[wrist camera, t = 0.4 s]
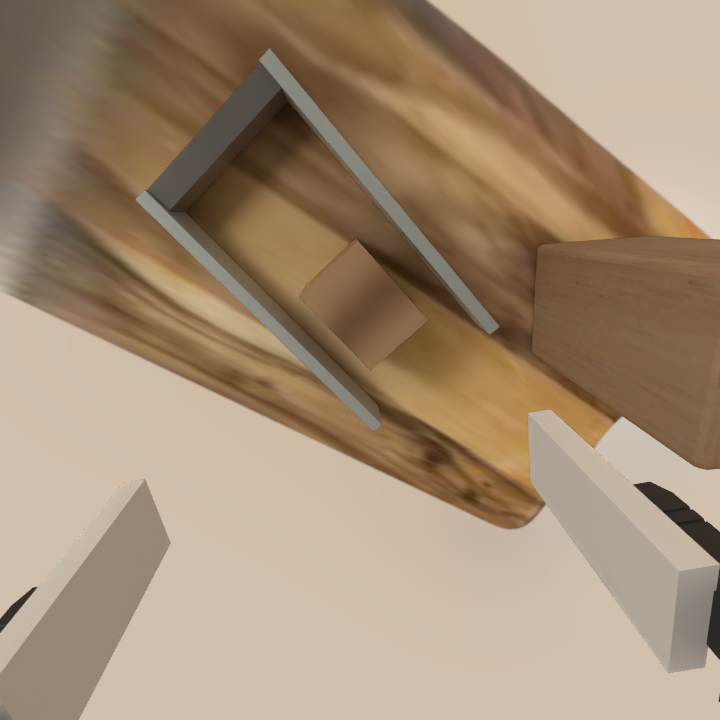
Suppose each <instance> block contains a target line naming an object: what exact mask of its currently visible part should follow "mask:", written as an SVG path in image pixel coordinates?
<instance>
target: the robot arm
mask: <svg viewBox="0 0 720 720" xmlns="http://www.w3.org/2000/svg"><path fill="white" fill-rule="evenodd" d="M528 432H529V456H530V481H531V483H532V485H533V486H534V487H535V489H536V490H537V492H538V493H539V494H540V496H541V497H542V499H543V500H544V501H545V503H546V504H547V505H548V507H549V508H550V509H551V511H552V512H553V514H554V515H555V517H556V518H557V519H558V521H559V522H560V523H561V525H562V526H563V528H564V529H565V530H566V532H567V533H568V534H569V536H570V537H571V539H572V540H573V542H574V543H575V544H576V546H577V547H578V549H579V550H580V551H581V553H582V554H583V555H584V557H585V558H586V560H587V561H588V562H589V564H590V565H591V567H592V568H593V569H594V571H595V572H596V574H597V575H598V576H599V577H600V579H601V580H602V582H603V583H604V585H605V586H606V587H607V589H608V590H609V592H610V593H611V594H612V596H613V597H614V598H615V600H616V601H617V603H618V604H619V605H620V607H621V608H622V610H623V611H624V612H625V614H626V615H627V617H628V618H629V619H630V621H631V622H632V624H633V625H634V626H635V628H636V629H637V631H638V632H639V633H640V635H641V636H642V637H643V639H644V640H645V642H646V643H647V644H648V646H649V647H650V649H651V650H652V651H653V653H654V654H655V656H656V657H657V658H658V660H659V661H660V662H661V664H662V665H663V666H664V668H665V669H666V671H667V672H668V673H673V672H679V671H685V670H690V669H697V668H703V667H705V664H706V657H707V650H708V647H709V648H710V649H711V650H712V651H713V652H714V654H715V655H716V656H717V657H718V658H719V659H720V532H719V531H718V530H717V529H716V528H714V527H713V526H712V525H711V524H710V523H708V522H705V521H704V519H703V518H702V517H701V516H700V515H699V514H698V513H696V512H695V511H694V510H691V509H690V508H689V506H688V505H687V504H686V503H684V502H683V501H682V500H681V499H679V498H678V497H677V496H676V495H675V494H673V493H672V492H670V491H668V490H666V489H664V488H662V487H660V486H658V485H656V484H654V483H651V482H646V483H640V484H634V485H633V484H632V483H630V482H629V481H628V480H627V479H626V478H625V477H624V476H623V475H622V474H621V473H619V472H618V471H617V470H616V469H615V468H614V467H613V466H612V465H611V464H610V463H609V462H607V461H606V460H605V459H604V458H603V457H602V456H601V455H600V454H599V453H598V452H597V451H595V450H594V449H593V448H592V447H591V446H590V445H589V444H588V443H587V442H586V441H584V440H583V439H582V438H581V437H580V436H579V435H578V434H577V433H576V432H575V431H574V430H572V429H571V428H570V427H569V426H568V425H567V424H566V423H565V422H564V421H563V420H561V419H560V418H559V417H558V416H557V415H556V414H555V413H554V412H553V411H552V410H551V409H549V410H544V411H538V412H532V413H528ZM169 545H170V540H169V538H168V536H167V533H166V530H165V528H164V525H163V523H162V520H161V518H160V515H159V513H158V510H157V508H156V505H155V503H154V500H153V498H152V495H151V493H150V490H149V488H148V485H147V483H146V480H145V479H144V480H137V481H131V482H125V483H123V484H122V485H121V486H120V487H119V489H118V490H117V491H116V492H115V493H114V495H113V496H112V497H111V498H110V499H109V501H108V502H107V503H106V504H105V506H104V507H103V508H102V509H101V510H100V512H99V513H98V514H97V515H96V517H95V518H94V519H93V520H92V522H91V523H90V524H89V525H88V526H87V528H86V529H85V530H84V531H83V533H82V534H81V535H80V536H79V537H78V539H77V540H76V541H75V542H74V544H73V545H72V546H71V547H70V548H69V550H68V551H67V552H66V554H64V556H63V557H62V558H61V559H60V561H59V562H58V563H57V564H56V565H55V567H54V568H53V569H52V570H51V572H50V573H49V574H48V575H47V576H46V578H45V579H44V580H43V581H42V583H41V584H40V585H39V586H38V587H34V588H32V589H31V590H30V591H28V592H27V593H26V594H25V595H24V596H22V597H21V598H20V599H19V600H18V601H17V602H15V603H14V604H13V605H12V606H11V607H10V608H9V609H8V610H7V612H6V613H5V614H4V615H3V616H2V617H1V619H0V720H79V718H80V716H81V714H82V712H83V710H84V708H85V707H86V705H87V702H88V701H89V699H90V697H91V695H92V693H93V691H94V689H95V687H96V685H97V683H98V681H99V679H100V678H101V676H102V674H103V672H104V670H105V668H106V666H107V664H108V662H109V660H110V659H111V657H112V654H113V653H114V651H115V649H116V647H117V645H118V643H119V641H120V639H121V637H122V635H123V634H124V632H125V630H126V628H127V626H128V624H129V622H130V620H131V618H132V616H133V614H134V612H135V610H136V609H137V606H138V605H139V603H140V601H141V599H142V597H143V595H144V593H145V591H146V589H147V587H148V585H149V584H150V582H151V580H152V578H153V576H154V574H155V572H156V570H157V568H158V566H159V564H160V563H161V561H162V559H163V557H164V555H165V553H166V551H167V549H168V547H169ZM719 702H720V697H719Z"/></svg>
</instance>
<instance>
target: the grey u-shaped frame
mask: <svg viewBox="0 0 720 720" xmlns="http://www.w3.org/2000/svg"><path fill="white" fill-rule="evenodd" d="M259 61H260V64H259V65H258V66H257V67H256V68H255V69H254V70H253V72H252V73H251V74H250V75H249V76H248V77H247V78H246V79H245V81H244V82H243V83H242V84H241V85H240V86H239V87H238V89H237V90H236V91H235V92H234V93H233V94H232V95H231V96H230V98H229V99H228V100H227V101H226V102H225V103H224V104H223V105H222V107H221V108H220V109H219V110H218V111H217V112H216V113H215V114H214V116H213V117H212V118H211V119H210V120H209V121H208V122H207V123H206V125H205V126H204V127H203V128H202V129H201V130H200V131H199V133H198V134H197V135H196V136H195V137H194V138H193V139H192V140H191V142H190V143H189V144H188V145H187V146H186V147H185V148H184V149H183V151H182V152H181V153H180V154H179V155H178V156H177V157H176V158H175V160H174V161H173V162H172V163H171V164H170V165H169V166H168V168H167V169H166V170H165V171H164V172H163V173H162V174H161V175H160V177H159V178H158V179H157V180H156V181H155V182H154V183H153V184H152V186H151V187H150V188H149V189H148V190H144V191H143V192H142V193H141V194H140V195H139V196H138V197H137V199H136V201H137V202H138V203H139V204H140V205H141V206H142V207H143V208H144V209H145V210H146V211H147V212H148V213H149V214H150V215H151V216H152V217H154V218H155V219H156V220H157V221H158V222H159V223H160V224H161V225H162V226H163V227H164V228H165V229H166V230H167V231H168V232H169V233H170V234H171V235H172V236H173V237H174V238H175V239H176V240H177V241H178V242H179V243H180V244H181V245H182V246H183V247H184V248H185V249H186V250H187V251H188V252H189V253H191V254H192V255H193V256H194V257H195V258H196V259H197V260H198V261H199V262H200V263H201V264H202V265H203V266H204V267H205V268H206V269H207V270H208V271H209V272H210V273H211V274H212V275H213V276H214V277H215V278H216V279H217V280H218V281H219V282H220V283H221V284H222V285H223V286H224V287H225V288H226V289H228V290H229V291H230V292H231V293H232V294H233V295H234V296H235V297H236V298H237V299H238V300H239V301H240V302H241V303H242V304H243V305H244V306H245V307H246V308H247V309H248V310H249V311H250V312H251V313H252V314H253V315H254V316H255V317H256V318H257V319H258V320H259V321H260V322H261V323H262V324H263V325H265V326H266V327H267V328H268V329H269V330H270V331H271V332H272V333H273V334H274V335H275V336H276V337H277V338H278V339H279V340H280V341H281V342H282V343H283V344H284V345H285V346H286V347H287V348H288V349H289V350H290V351H291V352H292V353H293V354H294V355H295V356H296V357H297V358H298V359H299V360H300V361H302V362H303V363H304V364H305V365H306V366H307V367H308V368H309V369H310V370H311V371H312V372H313V373H314V374H315V375H316V376H317V377H318V378H319V379H320V380H321V381H322V382H323V383H324V384H325V385H326V386H327V387H328V388H329V389H330V390H331V391H332V392H333V393H334V394H335V395H336V396H337V397H339V398H340V399H341V400H342V401H343V402H344V403H345V404H346V405H347V406H348V407H349V408H350V409H351V410H352V411H353V412H354V413H355V414H356V415H357V416H358V417H359V418H360V419H361V420H362V421H363V422H364V423H365V424H366V425H367V426H368V427H369V428H370V429H371V430H372V431H375V430H376V429H377V428H378V427H379V426H381V425H382V423H381V417H380V412H379V407H378V405H377V404H376V403H375V402H374V401H373V400H372V399H371V398H370V397H369V396H368V395H367V394H366V393H365V392H364V391H363V390H362V389H361V388H360V387H359V386H358V385H357V384H356V383H355V382H354V381H353V380H352V379H351V378H350V377H349V376H348V375H347V374H346V373H345V372H344V371H343V370H342V369H341V368H340V367H339V366H338V365H337V364H336V363H335V362H334V361H333V360H332V359H331V358H330V357H329V356H328V355H327V354H326V353H325V352H324V351H323V350H322V349H321V348H320V347H319V346H318V345H317V344H316V343H315V342H314V341H313V340H312V339H311V338H310V337H309V336H308V335H307V334H306V333H305V332H304V331H303V330H302V329H301V328H300V327H299V326H298V325H297V324H296V323H295V322H294V321H293V320H292V319H291V318H290V317H289V316H288V315H287V314H286V313H285V312H284V311H283V310H282V309H281V308H280V307H279V306H278V305H277V304H276V303H275V302H274V301H273V300H272V299H271V298H270V297H269V296H268V295H267V294H266V293H265V292H264V291H263V290H262V289H261V288H260V287H259V286H258V285H257V284H256V283H255V282H254V281H253V280H252V279H251V278H250V277H249V276H248V275H247V274H246V273H245V272H244V271H243V270H242V269H241V268H240V267H239V266H238V265H237V264H236V263H235V262H234V261H233V260H232V259H231V258H230V257H229V256H228V255H227V254H226V253H225V252H224V251H223V250H222V249H221V248H220V247H219V246H218V245H217V244H216V243H215V242H214V241H213V240H212V239H211V238H210V237H209V236H208V235H207V234H206V233H205V232H204V231H203V230H202V229H201V228H200V227H199V226H198V225H197V224H196V223H195V222H194V221H193V220H192V219H191V218H190V217H189V216H188V215H187V214H186V212H187V210H188V209H189V208H190V207H191V206H192V205H193V204H194V203H195V202H196V201H197V200H198V199H199V197H200V196H201V195H202V194H203V193H204V192H205V191H206V190H207V189H208V188H209V187H210V186H211V184H212V183H213V182H214V181H215V180H216V179H217V178H218V177H219V176H220V175H221V174H222V173H223V171H224V170H225V169H226V168H227V167H228V166H229V165H230V164H231V163H232V162H233V161H234V160H235V158H236V157H237V156H238V155H239V154H240V153H241V152H242V151H243V150H244V149H245V148H246V147H247V145H248V144H249V143H250V142H251V141H252V140H253V139H254V138H255V137H256V136H257V135H258V133H259V132H260V131H261V130H262V129H263V128H264V127H265V126H266V125H267V124H268V123H269V122H270V120H271V119H272V118H273V117H274V116H275V115H276V114H277V113H278V112H279V111H280V110H281V109H282V107H283V106H284V105H285V104H286V103H287V102H289V103H290V104H291V106H292V107H293V108H294V109H295V110H296V112H297V113H298V114H299V115H300V116H301V118H302V119H303V120H304V121H305V122H306V123H307V125H308V126H309V127H310V128H311V129H312V131H313V132H314V133H315V134H316V135H317V136H318V138H319V139H320V140H321V141H322V142H323V144H324V145H325V146H326V147H327V148H328V149H329V151H330V152H331V153H332V154H333V155H334V157H335V158H336V159H337V160H338V161H339V162H340V164H341V165H342V166H343V167H344V168H345V170H346V171H347V172H348V173H349V174H350V175H351V177H352V178H353V179H354V180H355V181H356V183H357V184H358V185H359V186H360V187H361V189H362V190H363V191H364V192H365V193H366V194H367V196H368V197H369V198H370V199H371V200H372V202H373V203H374V204H375V205H376V206H377V207H378V209H379V210H380V211H381V212H382V213H383V215H384V216H385V217H386V218H387V219H388V220H389V222H390V223H391V224H392V225H393V226H394V228H395V229H396V230H397V231H398V232H399V233H400V235H401V236H402V237H403V238H404V239H405V241H406V242H407V243H408V244H409V245H410V247H411V248H412V249H413V250H414V251H415V252H416V254H417V255H418V256H419V257H420V258H421V260H422V261H423V262H424V263H425V264H426V265H427V267H428V268H429V269H430V270H431V271H432V273H433V274H434V275H435V276H436V277H437V278H438V280H439V281H440V282H441V283H442V284H443V286H444V287H445V288H446V289H447V290H448V291H449V293H450V294H451V295H452V296H453V297H454V299H455V300H456V301H457V302H458V303H459V304H460V306H461V307H462V308H463V309H464V310H465V312H466V313H467V314H468V315H469V316H470V318H471V319H472V320H473V321H474V322H475V323H476V324H477V325H478V326H479V327H481V328H482V329H483V330H485V331H486V332H487V333H488V334H491V333H493V332H494V331H495V330H496V329H497V328H499V325H498V324H497V323H496V322H495V320H494V319H493V318H492V317H491V316H490V314H489V313H488V312H487V311H486V310H485V308H484V307H483V306H482V305H481V304H480V302H479V301H478V300H477V299H476V297H475V296H474V295H473V294H472V293H471V291H470V290H469V289H468V288H467V287H466V285H465V284H464V283H463V282H462V281H461V279H460V278H459V277H458V276H457V275H456V273H455V272H454V271H453V270H452V268H451V267H450V266H449V265H448V264H447V262H446V261H445V260H444V259H443V258H442V256H441V255H440V254H439V253H438V252H437V250H436V249H435V248H434V247H433V245H432V244H431V243H430V242H429V241H428V239H427V238H426V237H425V236H424V235H423V233H422V232H421V231H420V230H419V229H418V227H417V226H416V225H415V224H414V222H413V221H412V220H411V219H410V218H409V216H408V215H407V214H406V213H405V212H404V210H403V209H402V208H401V207H400V206H399V204H398V203H397V202H396V201H395V199H394V198H393V197H392V196H391V195H390V193H389V192H388V191H387V190H386V189H385V187H384V186H383V185H382V184H381V183H380V181H379V180H378V179H377V178H376V177H375V175H374V174H373V173H372V172H371V170H370V169H369V168H368V167H367V166H366V164H365V163H364V162H363V161H362V160H361V158H360V157H359V156H358V155H357V154H356V152H355V151H354V150H353V149H352V147H351V146H350V145H349V144H348V143H347V141H346V140H345V139H344V138H343V137H342V135H341V134H340V133H339V132H338V131H337V129H336V128H335V127H334V126H333V124H332V123H331V122H330V121H329V120H328V118H327V117H326V116H325V115H324V114H323V112H322V111H321V110H320V109H319V108H318V106H317V105H316V104H315V103H314V102H313V100H312V99H311V98H310V97H309V95H308V94H307V93H306V92H305V91H304V89H303V88H302V87H301V86H300V85H299V83H298V82H297V81H296V80H295V79H294V77H293V76H292V75H291V74H290V72H289V71H288V70H287V69H286V68H285V66H284V65H283V64H282V63H281V62H280V60H279V59H278V58H277V57H276V56H275V54H274V53H273V52H272V51H271V49H270V48H269V49H268V50H267V51H266V53H265V54H264V55H263V56H262V57H261V58H260V59H259Z"/></svg>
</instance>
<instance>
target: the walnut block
mask: <svg viewBox="0 0 720 720" xmlns="http://www.w3.org/2000/svg"><path fill="white" fill-rule="evenodd" d="M299 298H300V299H301V300H302V301H303V302H304V303H305V304H306V305H307V306H308V307H309V308H310V309H311V310H312V311H313V312H314V313H315V314H316V315H317V316H318V317H319V318H320V319H321V320H322V321H323V322H324V323H325V325H326V326H327V327H328V328H329V329H330V330H331V331H332V332H333V333H334V334H335V335H336V336H337V337H338V338H339V339H340V340H341V341H342V342H343V343H344V344H345V345H346V346H347V347H348V348H349V349H350V350H351V351H352V352H353V353H354V354H355V355H356V356H357V357H358V358H359V359H360V360H361V361H362V362H363V363H364V365H365V366H366V367H367V368H368V369H369V370H370V371H371V370H372V369H373V368H374V367H375V366H376V365H378V364H379V363H380V362H381V361H382V360H383V359H385V358H386V357H387V356H388V355H389V354H390V353H391V352H393V351H394V350H395V349H396V348H397V347H398V346H399V345H401V344H402V343H403V342H404V341H405V340H406V339H408V338H409V337H410V336H411V335H412V334H413V333H414V332H416V331H417V330H418V329H419V328H420V327H421V326H422V325H424V324H425V323H426V322H427V321H428V319H427V318H426V317H425V316H424V315H423V314H422V313H421V311H420V310H419V309H418V308H417V307H416V306H415V304H414V303H413V302H412V301H411V300H410V299H409V298H408V297H407V295H406V294H405V293H404V292H403V291H402V290H401V289H400V287H399V286H398V285H397V284H396V283H395V282H394V281H393V280H392V278H391V277H390V276H389V275H388V274H387V273H386V272H385V270H384V269H383V268H382V267H381V266H380V265H379V264H378V263H377V261H376V260H375V259H374V258H373V257H372V256H371V255H370V254H369V252H368V251H367V250H366V249H365V248H364V247H363V246H362V244H361V243H360V242H359V241H358V240H357V239H356V238H355V239H354V240H353V241H352V242H351V243H350V244H349V245H348V246H347V247H346V248H345V249H344V250H343V251H342V252H341V253H340V254H339V255H337V256H336V257H335V258H334V259H333V260H332V261H331V262H330V263H329V264H328V265H327V266H326V267H325V268H324V269H323V270H322V271H321V272H320V273H319V274H318V275H317V276H316V277H315V278H313V279H312V280H311V281H310V282H309V283H308V284H307V285H306V286H305V288H304V290H303V291H302V293H301V295H300V297H299Z"/></svg>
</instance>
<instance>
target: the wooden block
mask: <svg viewBox="0 0 720 720" xmlns="http://www.w3.org/2000/svg"><path fill="white" fill-rule="evenodd" d="M532 352H533V354H534V355H536V356H537V357H539V358H540V359H542V360H543V361H544V362H546V363H547V364H549V365H550V366H552V367H553V368H554V369H556V370H557V371H559V372H560V373H562V374H563V375H564V376H566V377H567V378H569V379H570V380H572V381H573V382H574V383H576V384H577V385H579V386H580V387H582V388H583V389H584V390H586V391H587V392H589V393H590V394H592V395H593V396H594V397H596V398H597V399H599V400H600V401H602V402H603V403H604V404H606V405H607V406H609V407H610V408H612V409H613V410H614V411H616V412H617V413H619V414H620V415H622V416H623V417H625V418H626V419H627V420H629V421H630V422H632V423H633V424H635V425H636V426H637V427H639V428H640V429H642V430H643V431H645V432H646V433H647V434H649V435H650V436H652V437H653V438H654V439H656V440H657V441H659V442H660V443H662V444H663V445H665V446H666V447H667V448H669V449H670V450H672V451H673V452H675V453H676V454H677V455H679V456H680V457H682V458H683V459H685V460H686V461H687V462H689V463H690V464H692V465H693V466H695V467H698V468H701V469H706V470H709V469H720V240H715V239H695V238H675V237H655V236H642V237H629V238H617V239H604V240H591V241H579V242H566V243H553V244H543V245H541V246H539V247H538V250H537V264H536V281H535V298H534V315H533V332H532Z"/></svg>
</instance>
